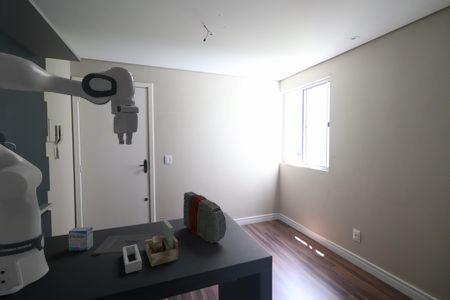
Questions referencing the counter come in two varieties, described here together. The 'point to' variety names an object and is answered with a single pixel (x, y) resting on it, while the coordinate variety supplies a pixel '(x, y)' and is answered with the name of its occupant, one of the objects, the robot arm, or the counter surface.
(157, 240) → the offcut pine
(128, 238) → the play button award
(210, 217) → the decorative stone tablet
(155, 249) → the offcut walnut
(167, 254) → the rack
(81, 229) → the medicine box
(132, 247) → the holder
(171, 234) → the block
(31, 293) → the counter surface
